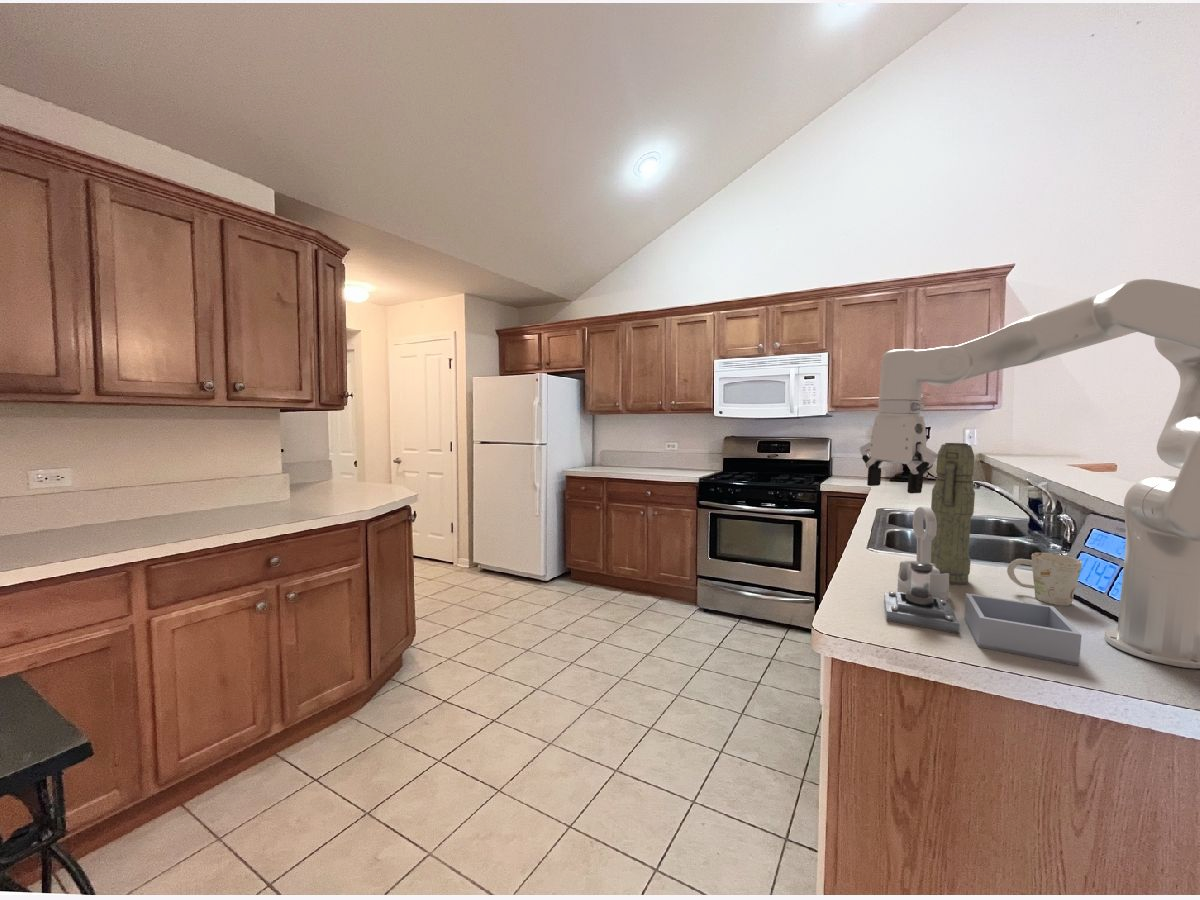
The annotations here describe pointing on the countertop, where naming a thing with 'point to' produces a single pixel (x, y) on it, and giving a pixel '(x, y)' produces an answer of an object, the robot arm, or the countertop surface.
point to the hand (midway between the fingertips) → (893, 489)
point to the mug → (1050, 577)
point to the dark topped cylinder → (920, 585)
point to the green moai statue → (953, 511)
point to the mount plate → (920, 613)
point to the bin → (1022, 629)
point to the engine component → (924, 556)
